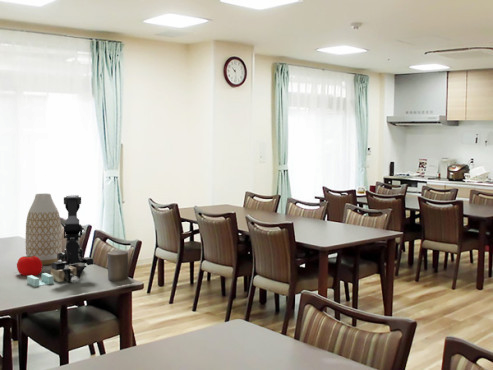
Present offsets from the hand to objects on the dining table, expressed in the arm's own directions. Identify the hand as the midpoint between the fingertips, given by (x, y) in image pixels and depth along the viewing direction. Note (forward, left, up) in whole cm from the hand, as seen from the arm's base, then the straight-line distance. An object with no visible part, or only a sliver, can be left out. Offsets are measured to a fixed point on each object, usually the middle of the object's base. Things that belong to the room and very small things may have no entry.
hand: (73, 281), depth 257 cm
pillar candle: (-19, +8, -2) cm, 21 cm away
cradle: (+12, -8, -1) cm, 15 cm away
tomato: (+9, -28, -2) cm, 30 cm away
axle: (0, -6, 0) cm, 6 cm away
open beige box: (0, -9, -1) cm, 10 cm away
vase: (-8, -50, -1) cm, 51 cm away
